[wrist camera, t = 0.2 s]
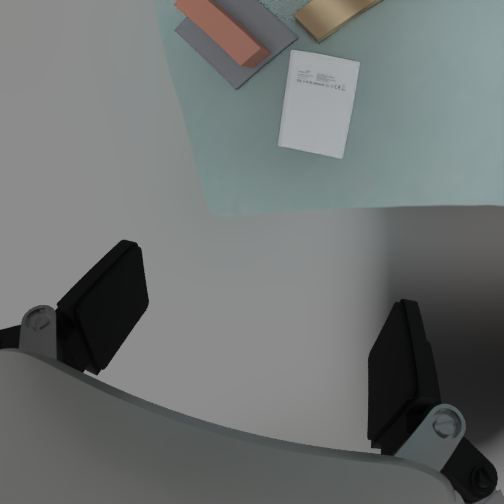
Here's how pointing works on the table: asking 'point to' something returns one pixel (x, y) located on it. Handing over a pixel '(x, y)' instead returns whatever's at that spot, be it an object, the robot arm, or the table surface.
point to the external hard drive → (318, 103)
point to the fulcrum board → (253, 24)
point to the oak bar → (330, 15)
